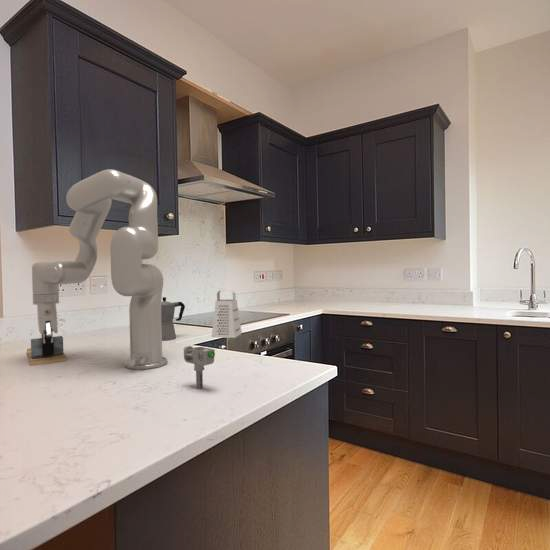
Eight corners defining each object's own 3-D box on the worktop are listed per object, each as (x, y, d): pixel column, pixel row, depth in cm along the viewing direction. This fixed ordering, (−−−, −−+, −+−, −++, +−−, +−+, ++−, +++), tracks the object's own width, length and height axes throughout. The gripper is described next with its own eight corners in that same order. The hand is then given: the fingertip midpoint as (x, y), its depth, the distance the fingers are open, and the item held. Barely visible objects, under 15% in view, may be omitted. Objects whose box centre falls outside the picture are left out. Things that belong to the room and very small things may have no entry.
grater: (234, 337, 165) (233, 291, 165) (211, 337, 167) (210, 291, 167) (241, 333, 176) (240, 289, 175) (219, 333, 178) (218, 289, 177)
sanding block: (62, 353, 133) (61, 336, 133) (63, 355, 130) (63, 337, 130) (31, 357, 128) (30, 339, 128) (31, 359, 124) (31, 340, 124)
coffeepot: (151, 342, 158) (150, 298, 158) (147, 338, 167) (146, 297, 166) (188, 338, 165) (187, 296, 165) (182, 335, 174) (181, 295, 173)
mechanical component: (191, 382, 101) (190, 344, 101) (217, 390, 94) (217, 349, 94) (182, 385, 99) (181, 346, 98) (208, 393, 92) (207, 351, 92)
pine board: (66, 360, 128) (66, 356, 128) (30, 365, 123) (30, 360, 123) (58, 348, 148) (57, 345, 148) (27, 352, 142) (27, 348, 142)
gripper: (61, 300, 124) (63, 356, 124) (56, 297, 137) (57, 348, 138) (34, 301, 119) (36, 360, 120) (31, 298, 133) (32, 351, 133)
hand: (47, 353), depth 129 cm, fingers closed on sanding block, 4 cm apart
